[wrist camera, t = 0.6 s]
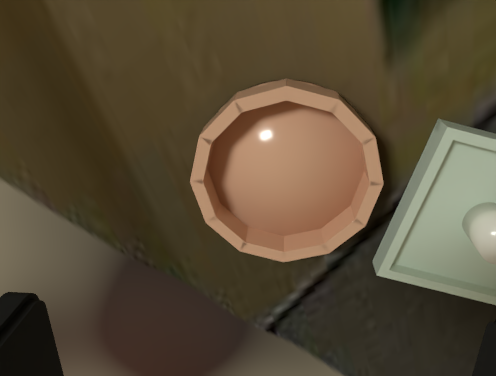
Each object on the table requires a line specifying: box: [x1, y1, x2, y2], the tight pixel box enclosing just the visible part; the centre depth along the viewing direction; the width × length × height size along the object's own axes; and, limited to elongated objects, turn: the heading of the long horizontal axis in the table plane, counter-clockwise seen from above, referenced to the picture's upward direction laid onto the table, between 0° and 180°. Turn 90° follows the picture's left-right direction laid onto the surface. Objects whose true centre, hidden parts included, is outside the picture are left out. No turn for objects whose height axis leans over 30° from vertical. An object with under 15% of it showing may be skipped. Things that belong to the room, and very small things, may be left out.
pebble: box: [462, 202, 496, 265], centre depth 41 cm, size 4×4×4 cm
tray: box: [372, 119, 496, 305], centre depth 43 cm, size 17×17×2 cm
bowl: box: [190, 79, 384, 262], centre depth 42 cm, size 17×17×4 cm
